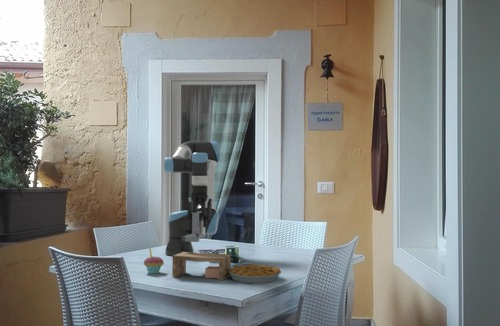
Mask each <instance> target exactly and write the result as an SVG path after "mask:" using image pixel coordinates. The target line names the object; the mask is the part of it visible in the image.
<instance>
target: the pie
mask: <svg viewBox="0 0 500 326" xmlns="http://www.w3.org/2000/svg"><path fill="white" fill-rule="evenodd" d="M229 273H230V277H231V279H232V280H233V281H235V282H239V283H244V284H245V283H246V284H265V283H266V284H267V283H272V282H275V281H277V280H278V278H279V276H280V274H282V270H281V268H279V267H277V266H275V265H274V266H270V265H268V264H265V265H262V264H248V265H242V264H241V265H239V266H236V265H234V266H233V267H231V268H230V271H229Z"/></svg>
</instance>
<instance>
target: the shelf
mask: <svg viewBox="0 0 500 326" xmlns="http://www.w3.org/2000/svg"><path fill="white" fill-rule="evenodd" d="M231 257H232V255H231V254H226V253H225V254H224V253H206V252H194V253H192V252H182V253H179V254H176V255H173V256H172V276H171V277H172V278H177V277H179V276H181V275H184V274H185V273H186V272H187V261H195V262H209V263H210V262H213V263H218V265H219V278H218V280H219V281H224V280H225V279H226V280H227V278H229V277H231V275H230V273H229V271H230V268H232V262H231V261H232V258H231Z"/></svg>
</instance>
